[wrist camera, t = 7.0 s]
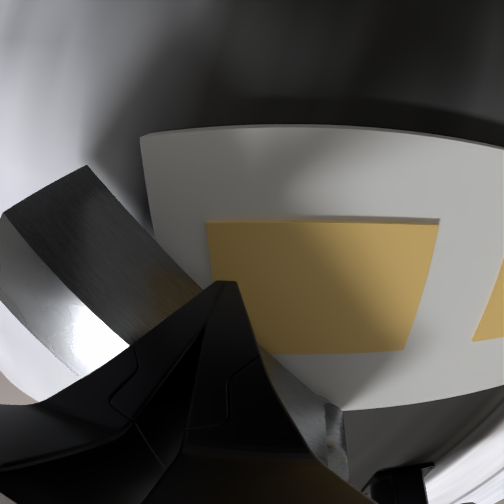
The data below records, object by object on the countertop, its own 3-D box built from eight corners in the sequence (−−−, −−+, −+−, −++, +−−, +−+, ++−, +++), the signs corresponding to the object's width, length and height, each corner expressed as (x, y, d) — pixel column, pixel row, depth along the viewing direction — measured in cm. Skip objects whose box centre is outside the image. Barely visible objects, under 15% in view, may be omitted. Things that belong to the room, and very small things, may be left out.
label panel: (532, 369, 15) (540, 383, 14) (203, 399, 17) (198, 420, 16) (608, 180, 8) (624, 190, 6) (151, 132, 10) (132, 140, 9)
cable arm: (354, 420, 14) (361, 486, 11) (297, 440, 16) (296, 500, 12) (91, 158, 9) (6, 204, 5) (45, 222, 10) (-23, 279, 7)
